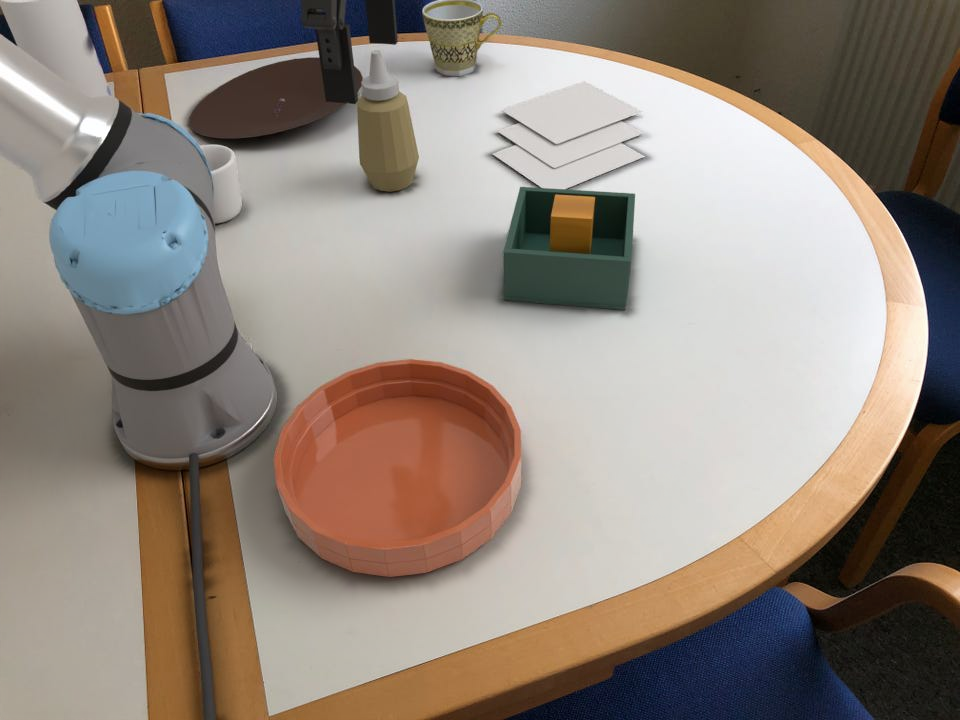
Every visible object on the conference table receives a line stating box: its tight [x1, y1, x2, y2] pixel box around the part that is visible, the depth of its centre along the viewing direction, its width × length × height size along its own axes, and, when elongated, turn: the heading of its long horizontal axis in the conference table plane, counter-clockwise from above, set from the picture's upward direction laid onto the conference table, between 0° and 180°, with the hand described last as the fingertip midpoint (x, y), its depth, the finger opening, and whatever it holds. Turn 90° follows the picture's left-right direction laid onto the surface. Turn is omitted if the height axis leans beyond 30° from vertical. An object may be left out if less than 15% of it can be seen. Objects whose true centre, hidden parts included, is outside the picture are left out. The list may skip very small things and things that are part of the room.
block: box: [550, 195, 595, 254], centre depth 90 cm, size 4×4×8 cm
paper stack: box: [491, 80, 645, 190], centre depth 117 cm, size 23×25×1 cm
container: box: [0, 0, 113, 97], centre depth 120 cm, size 10×10×20 cm
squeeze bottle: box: [356, 49, 420, 193], centre depth 103 cm, size 8×8×18 cm
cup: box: [199, 144, 243, 224], centre depth 101 cm, size 11×8×8 cm
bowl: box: [273, 358, 522, 578], centre depth 70 cm, size 21×21×4 cm
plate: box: [188, 56, 364, 139], centre depth 126 cm, size 28×28×4 cm
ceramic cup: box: [421, 0, 502, 77], centre depth 133 cm, size 13×10×10 cm
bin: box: [502, 186, 636, 311], centre depth 91 cm, size 14×14×7 cm
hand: (364, 70), depth 74 cm, fingers open, 13 cm apart
